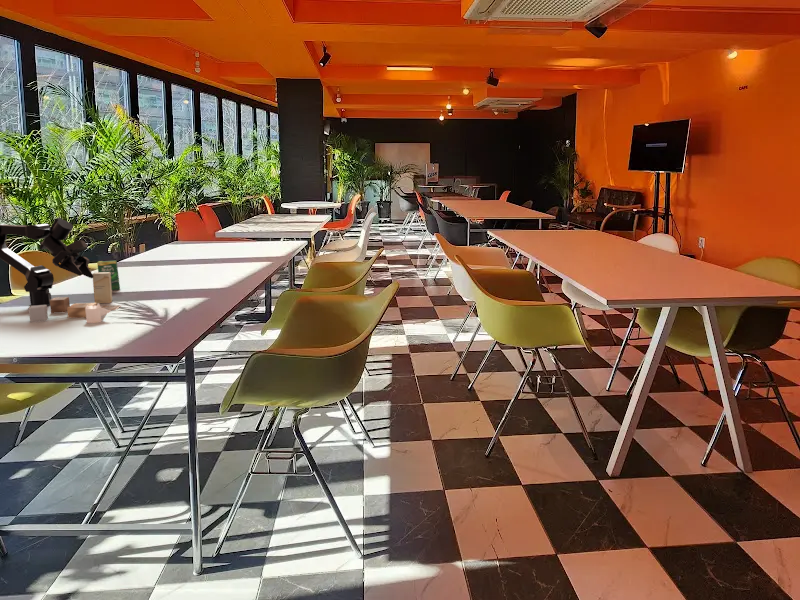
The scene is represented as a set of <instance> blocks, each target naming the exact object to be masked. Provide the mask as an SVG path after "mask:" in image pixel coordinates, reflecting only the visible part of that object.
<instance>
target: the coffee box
mask: <svg viewBox="0 0 800 600" xmlns="http://www.w3.org/2000/svg"><path fill="white" fill-rule="evenodd" d="M118 269H119V268H118V262H117V259H116V260H114V259H113V260H105V261H103V260H101V261H100V260H99V261H97V271H98V272H110V275H111V288H112V291H119V289H121V285H120V278H119V276H120V275H119V270H118Z"/></svg>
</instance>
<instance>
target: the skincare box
mask: <svg viewBox="0 0 800 600" xmlns="http://www.w3.org/2000/svg"><path fill="white" fill-rule="evenodd" d="M92 274H93V276H94V277H93V278H92V285H93V296H94V303H97V304H98V303H99V304H110V303H112V302H113V290H112V288H111V275H110V272H96V271H94V272H92Z"/></svg>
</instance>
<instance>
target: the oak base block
mask: <svg viewBox="0 0 800 600" xmlns="http://www.w3.org/2000/svg"><path fill="white" fill-rule="evenodd" d="M87 305H88V306H97V305H98V303H95V302H80V303H79V302H78V303H73V304H70V307H68V308H67V318H68V319H76V318H77V319H78V318H86V310H85V308H86V306H87Z"/></svg>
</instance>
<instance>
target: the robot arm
mask: <svg viewBox="0 0 800 600" xmlns="http://www.w3.org/2000/svg"><path fill="white" fill-rule="evenodd" d="M73 229H74V226H73V224H72V223H71V222H69V221H68V220H65V219H62V218H61V217H56V218H55V219H54V222H53V223H52V225H51V226H50V224H48V223H40V224H38V223H37V224H32V225H31V224H30V225H20V224H18V225H17V224H8V223H7V224H6V223H0V260H2V261H4V263H6V264H8V265H9V266H10V267H12V268H14V269H15V270H17V271H18V272H19V273H21V274H23V276H24V277H25V280H26V283H25V285H24V286H23V288H24V290H25V292H26V293H29V300H30V301H29V302H30V305H28V307H29V306H37V305H47V307H48V306H50V300H51V299H52V293H51V292H50V289H53V283H54V282H55V280H54V279H55V278H54V274H53V272H51V271H52V270H50V269H48V268H46V266H44V265H38V266H37V265H36V266H34V265H33V264H31V263H30V262H28V261H27V260H26V259H24V258H23V257H21V256H20V255H19V254H17V253H15V252H14V251H12V250H11V249H10V248H8V246H7V243H6V241H7V236H21V237H23V236H24V237H26V238H28V239H31V240H35V241H38V240H42V242H41V241H40V242H39V249H40V250H48V251H49V252H50V253H51V256H52V257H53V258H52V264H53V265H54V266H56V267H58V268H60V269H62V270H64V271H68V272H70V273H73V274H74V275H76V276H82V275H83V276H85V277H88V278H89V279H93V277H94V276H93V272H92V271H91V269H90V268H89V264H90V262H91V260H90V259H89V258H88V257H86V256H83V255H81V256H79V255H80V254H79V253H82V252H84V251H87V250H88V249H89V248H88V244H87V243H86V242H85V240H82V239H78V240H76V241H74V242H72V243H69V244H68V245H66V244H65V243H64V242H63V241H65V240H67V238H68V236H69V235H70V233H71V232H72V231H73Z"/></svg>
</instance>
